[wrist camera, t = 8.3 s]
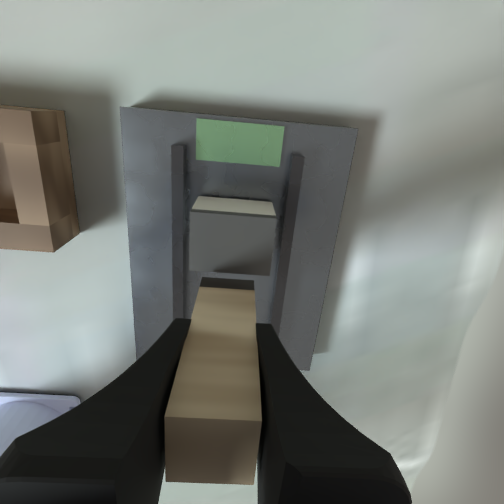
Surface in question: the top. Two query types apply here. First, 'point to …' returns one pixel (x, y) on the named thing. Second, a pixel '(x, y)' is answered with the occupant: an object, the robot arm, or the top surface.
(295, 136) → the panel
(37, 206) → the wooden square socket
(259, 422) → the wooden block
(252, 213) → the handle
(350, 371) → the top surface
